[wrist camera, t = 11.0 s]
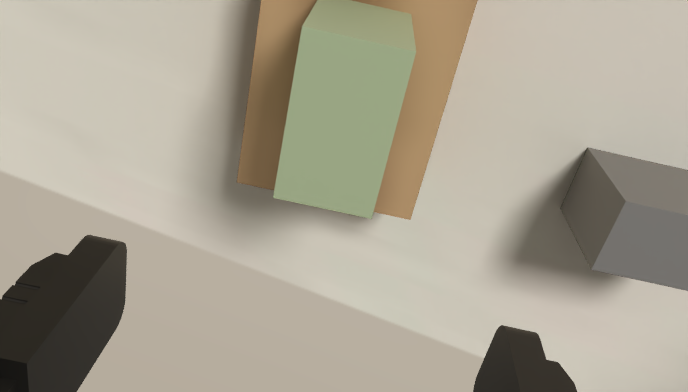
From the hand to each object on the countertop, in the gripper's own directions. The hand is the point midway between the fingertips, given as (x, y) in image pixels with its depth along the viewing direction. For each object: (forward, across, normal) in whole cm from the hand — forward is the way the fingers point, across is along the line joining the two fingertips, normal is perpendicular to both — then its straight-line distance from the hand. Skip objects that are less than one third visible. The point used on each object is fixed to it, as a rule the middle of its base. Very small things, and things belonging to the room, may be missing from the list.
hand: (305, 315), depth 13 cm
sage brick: (+14, 0, -1) cm, 14 cm away
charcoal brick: (+18, -15, +3) cm, 23 cm away
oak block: (+18, 0, 0) cm, 18 cm away
